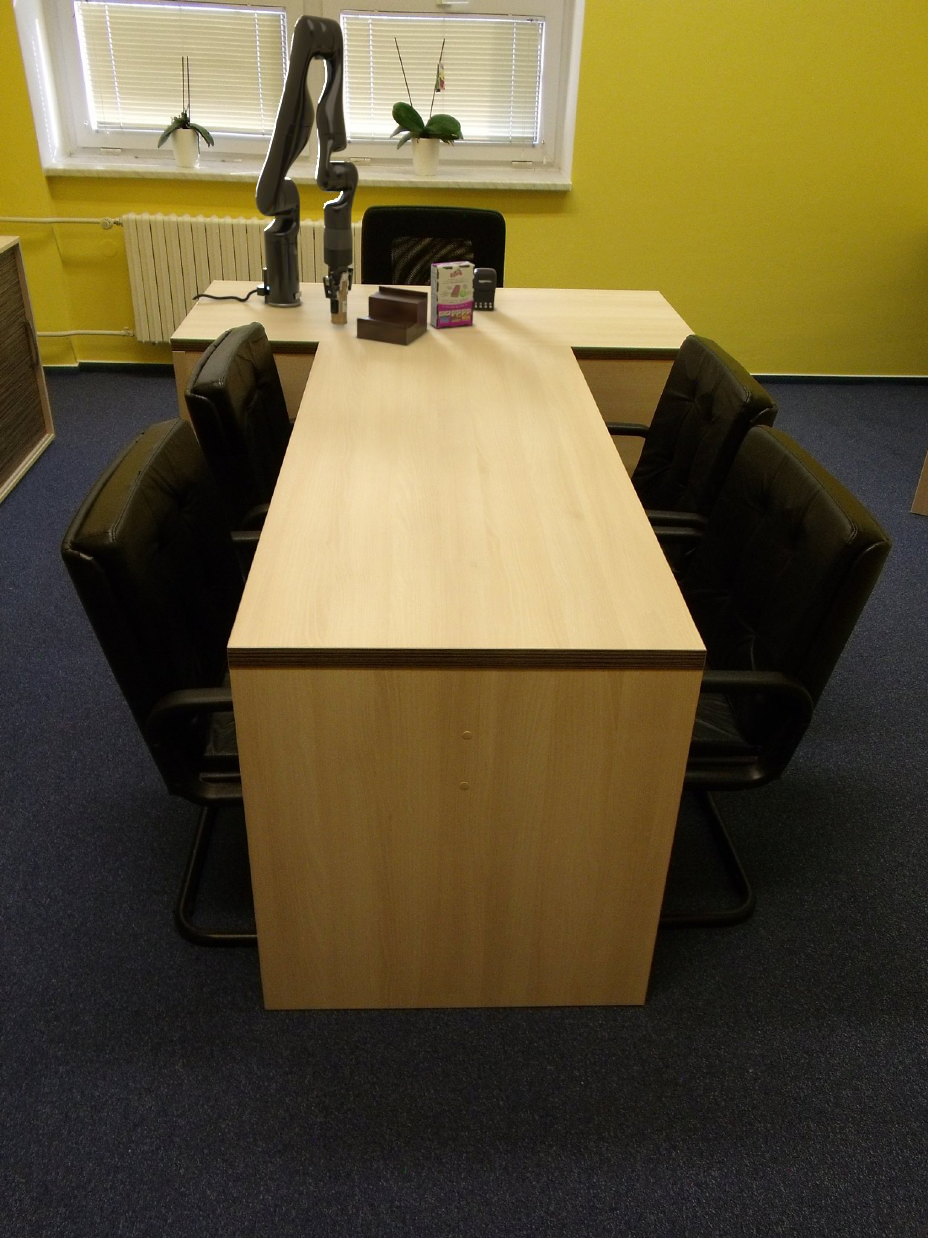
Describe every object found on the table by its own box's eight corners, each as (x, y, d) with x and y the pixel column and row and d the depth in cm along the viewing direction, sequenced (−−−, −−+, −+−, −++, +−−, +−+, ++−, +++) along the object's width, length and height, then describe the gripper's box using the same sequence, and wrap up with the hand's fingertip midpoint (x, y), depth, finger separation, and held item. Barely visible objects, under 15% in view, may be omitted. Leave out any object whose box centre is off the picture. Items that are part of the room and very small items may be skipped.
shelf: (356, 337, 266) (356, 298, 260) (379, 323, 278) (379, 285, 272) (406, 345, 262) (406, 305, 257) (427, 330, 274) (428, 292, 269)
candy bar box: (465, 320, 284) (468, 260, 275) (473, 325, 280) (476, 264, 271) (428, 323, 279) (430, 262, 271) (436, 329, 276) (438, 267, 267)
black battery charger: (471, 311, 292) (473, 270, 286) (470, 307, 296) (472, 267, 289) (495, 311, 293) (497, 271, 287) (494, 308, 296) (496, 267, 290)
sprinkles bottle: (350, 324, 273) (350, 273, 265) (335, 326, 270) (334, 274, 263) (342, 319, 276) (342, 269, 268) (327, 321, 274) (326, 270, 266)
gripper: (337, 237, 269) (337, 302, 278) (312, 248, 257) (314, 315, 267) (362, 241, 267) (362, 306, 276) (339, 252, 255) (339, 319, 265)
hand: (338, 310), depth 271 cm, fingers closed on sprinkles bottle, 4 cm apart
